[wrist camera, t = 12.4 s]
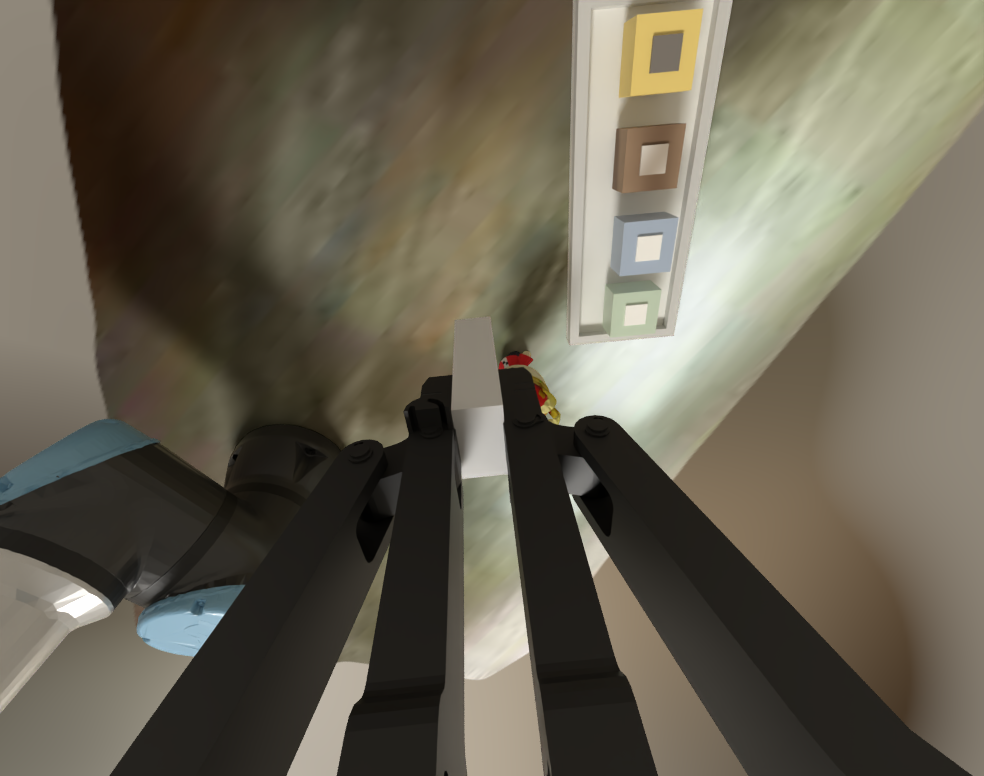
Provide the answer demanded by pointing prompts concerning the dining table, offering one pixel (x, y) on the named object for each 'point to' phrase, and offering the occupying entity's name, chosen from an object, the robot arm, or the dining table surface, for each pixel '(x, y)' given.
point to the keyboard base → (594, 121)
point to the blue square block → (643, 243)
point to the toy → (544, 395)
